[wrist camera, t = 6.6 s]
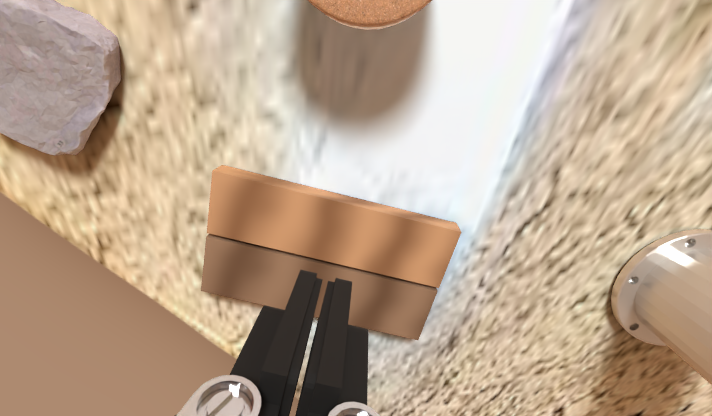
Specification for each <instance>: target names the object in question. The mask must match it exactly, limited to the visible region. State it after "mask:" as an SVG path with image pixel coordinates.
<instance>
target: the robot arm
mask: <svg viewBox="0 0 712 416" xmlns="http://www.w3.org/2000/svg"><path fill="white" fill-rule="evenodd" d="M322 281H323V279H319V278H317V273H314V272H310V271H305V270H300V272H299V275H298V277H297V280H296V282H295V285H294V288H293V290H292V293H291V295H290V298H289V300H288V303H287V306H286V308H285V310H283V309H279V308H275V307H270V306H266V305H264V306H263V308H262V310H261V312H260V314H259V316H258V318H257V320H256V322H255V324H254V326H253V328H252V330H251V332H250V334H249V336H248V338H247V340H246V342H245V344H244V346H243V348H242V350H241V353H240V355H239V357H238V359H237V361H236V363H235V365H234V367H233V369H232V371H231V373H230V375H223V376H220V377H216V378H213V379H211V380H209V381H208V382H206V383H204V384H203V385H202V386H201V387H200V388H199V389H197V391H196V392H195V393H194V394H193V395H192V396H191V398H190V399H189V400H188V402H187V403H186V404H185V405H184V407H183V408H182V409H181V411H180V412H179V413H178V414H177V415H176V416H289V414H290V410H291V406H292V402H293V398H294V394H295V390H296V386H297V382H298V378H299V374H300V370H301V366H302V362H303V358H304V355H305V350H306V346H307V342H308V338H309V334H310V330H311V326H312V322H313V318H314V314H315V309H316V305H317V301H318V297H319V293H320V289H321V285H322ZM351 291H352V281H348V280H343V279H339V278H336V279H335V282H332V281H328V283H327V287H326V291H325V295H324V299H323V303H322V307H321V311H320V315H319V319H318V323H317V327H316V331H315V335H314V339H313V343H312V347H311V351H310V355H309V360H308V364H307V368H306V373H305V377H304V381H303V385H302V390H301V394H300V398H299V403H298V408H297V411H296V416H380V415H379V414H378V413H377V412H376V411H375V410H374V409H372V408H371V407H369V406H367V379H368V329H365V328H361V327H357V326H352V325H348V321H349V311H350V301H351ZM611 307H612V311H613V314H614V316H615V318H616V320H617V321H618V323H619V324H620V325H621V326H622V327H623V328H624V329H625V330H626V331H627V332H628V333H629V334H631V335H632V336H633V337H635V338H636V339H638V340H641V341H643V342H645V343H649V344H653V345H661V346H668V347H669V348H670V349H671V350H673V351H674V352H675V353H676V354H677V355H678V356H679V357H681V358H682V359H683V360H684V361H685V362H686V363H687V364H688V365H690V366H691V367H692V368H693V369H694V370H695V371H696V372H697V373H699V374H700V375H701V376H702V377H703V378H704V379H705V380H707V381H708V382H709V383H710V384H711V385H712V230H710V229H694V230H685V231H681V232H677V233H674V234H670V235H668V236H665V237H663V238H661V239H658V240H656V241H655V242H653V243H651V244H650V245H648V246H646V247H645V248H643V249H642V250H641V251H639V252H638V253H637V254H636V255H634V256H633V257H632V258H631V260H630V261H629V262H628V263H627V264H626V265H625V266H624V267H623V269H622V270H621V272H620V273H619V275H618V277H617V279H616V281H615V283H614V286H613V290H612V295H611Z"/></svg>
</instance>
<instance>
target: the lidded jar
mask: <svg viewBox="0 0 712 416" xmlns="http://www.w3.org/2000/svg"><path fill="white" fill-rule="evenodd" d="M308 1H309V2H310V3H311V4H312V5H313V6H315V7H316V8H317V9H319V10H320V11H321V12H322V13H324V14H325V15H327V16H328V17H329V18H331V19H333V20H335V21H336V22H338V23H340V24H343V25H346V26H349V27H352V28H357V29H365V30H371V29H382V28H386V27H391V26H393V25H396V24H398V23H401V22H403V21H405V20H407V19H408V18H410V17H411V16H413V15H415V14H416V13H417V12H418V11H420V10H421V9H423V8H424V7H425V6H426V5H427V4H428V3H430V2H431V1H432V0H308Z"/></svg>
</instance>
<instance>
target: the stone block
mask: <svg viewBox="0 0 712 416" xmlns="http://www.w3.org/2000/svg"><path fill="white" fill-rule="evenodd" d="M120 81H121V73H120V49H119V43H118V39H117V37H116V35H114V34H113V33H112V32H111V31H110V30H108V29H106V28H105V27H104V26H103V25H102V24H101V23H99V22H98V21H97V20H96V19H95V18H93V17H92V16H91V15H89V14H85V13H83V12H80V11H77V10H75V9H74V8H72V7H65V6H63V5H61V4H60V3H58V2H56V1H55V0H0V133H2V134H4V135H5V136H8V137H10V138H11V139H13V140H15V141H17V142H19V143H21V144H24V145H26V146H28V147H31V148H34V149H36V150H39V151H41V152H43V153H47V154H51V155H62V154H72V155H76V154H78V153H79V152H80V151H81V150H82V149H83V148H84V146H85V143H86V142H87V140H88V138H89V136H90V134H91V131H92V129H93V128H94V127H95V126H96V124H97V122H98V121H99V118H100V115H101V114H102V113H103V112H104V110H105V108H106V106H107V104H108V103H109V102H110V99H111V97H112V94H113V92H114V90H115V88H116V87H117V86H118V84H119V83H120Z"/></svg>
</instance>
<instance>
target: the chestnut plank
mask: <svg viewBox="0 0 712 416" xmlns="http://www.w3.org/2000/svg"><path fill="white" fill-rule="evenodd" d="M207 233H209V234H213V235H218V236H222V237H226V238H230V239H235V240H239V241H243V242H247V243H251V244H256V245H260V246H264V247H268V248H273V249H277V250H281V251H285V252H289V253H294V254H298V255H302V256H306V257H311V258H315V259H319V260H323V261H327V262H332V263H336V264H340V265H344V266H348V267H353V268H357V269H361V270H365V271H370V272H374V273H378V274H382V275H386V276H391V277H395V278H399V279H403V280H408V281H412V282H416V283H420V284H424V285H429V286H433V287H437V288H439V286H440V284H441V281H442V279H443V276H444V274H445V271H446V269H447V266H448V264H449V261H450V259H451V256H452V254H453V251H454V249H455V247H456V244H457V242H458V239H459V237H460V234H461V231H460V229H459V227H458V225H457V224H456V223H454V222H450V221H446V220H442V219H438V218H434V217H430V216H426V215H422V214H418V213H414V212H410V211H406V210H402V209H398V208H394V207H390V206H386V205H382V204H378V203H374V202H370V201H366V200H362V199H358V198H354V197H350V196H346V195H341V194H337V193H333V192H329V191H325V190H321V189H317V188H313V187H309V186H305V185H301V184H297V183H293V182H289V181H285V180H281V179H277V178H273V177H269V176H265V175H261V174H257V173H253V172H249V171H245V170H241V169H237V168H232V167H228V166H224V165H221V166H220V167H218V168H216V169H215V170H213V171H212V182H211V193H210V204H209V214H208V225H207Z"/></svg>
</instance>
